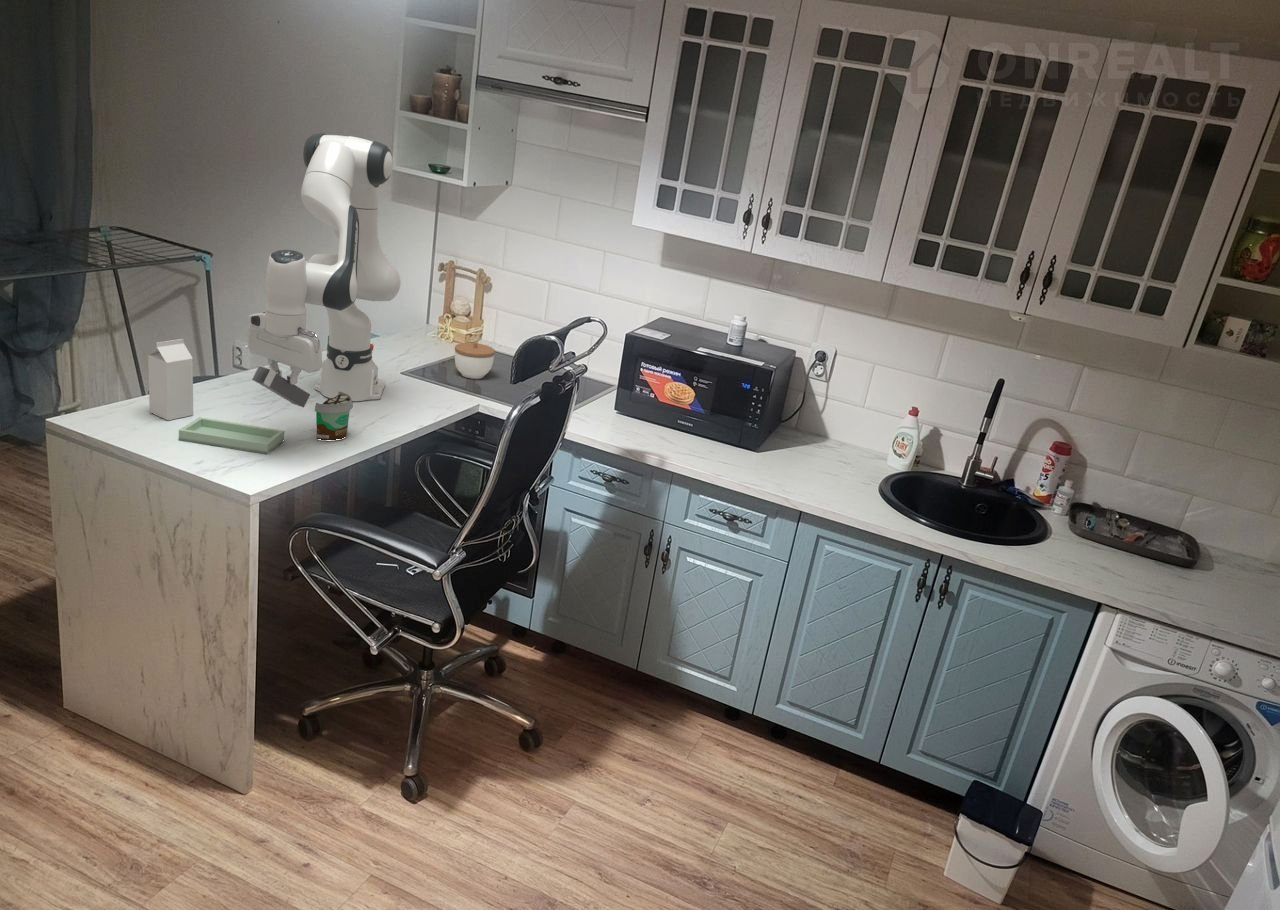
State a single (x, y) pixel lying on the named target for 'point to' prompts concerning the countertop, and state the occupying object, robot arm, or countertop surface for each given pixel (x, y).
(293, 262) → the robot arm
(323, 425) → the food container
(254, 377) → the dark grey bar
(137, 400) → the countertop surface
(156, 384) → the milk carton
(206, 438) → the tray
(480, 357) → the lidded bowl
